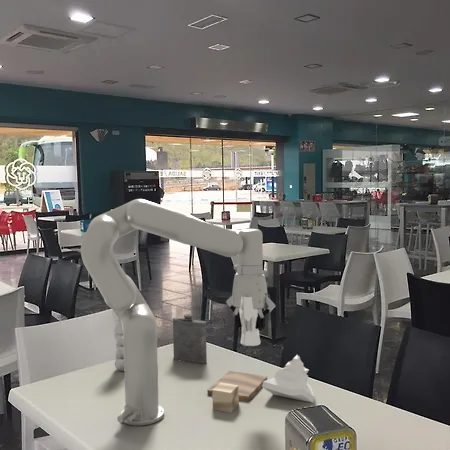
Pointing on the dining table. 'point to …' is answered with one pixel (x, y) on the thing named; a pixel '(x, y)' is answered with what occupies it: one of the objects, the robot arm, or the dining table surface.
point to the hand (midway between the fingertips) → (250, 328)
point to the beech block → (225, 397)
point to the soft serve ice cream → (291, 382)
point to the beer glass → (249, 322)
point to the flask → (189, 340)
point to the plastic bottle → (119, 346)
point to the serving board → (242, 383)
